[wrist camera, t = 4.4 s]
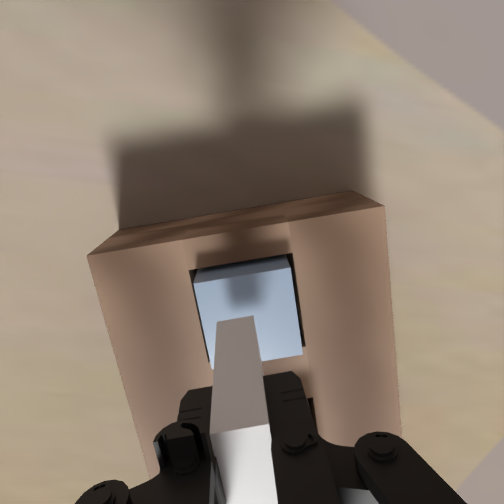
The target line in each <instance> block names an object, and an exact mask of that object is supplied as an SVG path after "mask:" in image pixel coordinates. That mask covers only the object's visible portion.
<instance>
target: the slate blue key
mask: <svg viewBox="0 0 504 504" xmlns="http://www.w3.org/2000/svg"><path fill="white" fill-rule="evenodd" d="M193 284H194V289H195V294H196V298H197V303H198V307H199V312H200V317H201V321H202V326H203V331H204V335H205V340H206V345H207V349H208V354H209V359H210V363H211V368H212V369H214V356H215V340H216V324H217V322H218V321H224V320H229V319H235V318H241V317H247V316H252V315H253V316H254V321H255V327H256V333H257V338H258V344H259V350H260V355H261V361H267V360H273V359H279V358H285V357H291V356H297V355H303V351H302V344H301V337H300V330H299V323H298V316H297V309H296V302H295V295H294V288H293V281H292V274H291V268H290V265H289V263H288V260H287V258H286V255H285V254H282V255H276V256H270V257H264V258H258V259H252V260H246V261H240V262H234V263H228V264H222V265H216V266H210V267H204V268H198V270H197V273H196V277H195V280H194V283H193Z"/></svg>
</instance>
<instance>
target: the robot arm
mask: <svg viewBox="0 0 504 504" xmlns="http://www.w3.org/2000/svg"><path fill="white" fill-rule="evenodd" d="M153 445H154V449H155V452H156V456H157V460H158V463H159V467H160V472H159V474H158V475H156V476H155V477H154V478H152V479H151V480H149V481H147V482H145V483H143V484H140V485H138V486H136V487H134V488H131V489H128V486H127V485H126V484H125V483H124V482H123V481H118V480H109V481H104V482H101V483H99V484H97V485H94V486H93V487H91V488H90V489H89V490H87V491H86V492H84V493H83V495H82V496H81V497H80V498H79V499H78V500H77V501H76V503H75V504H467V503H466V502H465V501H464V500H463V499H462V498H461V497H460V496H459V495H458V494H457V493H456V492H455V491H454V490H453V489H452V488H451V487H450V486H449V485H448V484H447V483H446V482H445V481H444V480H443V479H442V478H441V477H440V476H439V475H438V474H437V473H436V472H435V471H434V470H433V469H432V468H431V467H430V466H429V465H428V464H427V463H426V462H425V460H424V459H423V458H422V457H421V456H420V455H419V454H418V453H417V452H416V451H415V450H414V449H413V448H412V447H411V446H410V445H409V444H408V443H407V442H406V441H404V440H403V439H402V438H400V437H399V436H397V435H394V434H392V433H389V432H379V431H376V432H372V433H367V434H365V435H364V436H362V437H360V438H359V439H358V441H357V442H356V443H355V447H349V446H340V445H335V444H332V443H330V442H328V441H326V440H324V439H323V438H322V437H321V436H320V435H319V434H318V433H317V431H316V428H315V425H314V422H313V418H312V415H311V412H310V408H309V405H308V402H307V399H306V395H305V392H304V389H303V385H302V382H301V379H300V378H299V377H298V376H297V375H296V374H295V373H294V372H293V371H288V372H282V373H277V374H271V375H265V376H264V373H263V367H262V361H261V355H260V350H259V344H258V338H257V333H256V327H255V321H254V316H253V315H252V316H247V317H241V318H235V319H229V320H224V321H218V322H217V324H216V340H215V356H214V371H213V386H209V387H203V388H197V389H192V390H188V391H187V393H186V394H185V395H184V397H183V398H182V399H181V401H180V407H179V414H178V417H177V422H174V423H171V424H169V425H168V426H166V427H164V428H163V429H162V430H161V431H160V432H159V433H158V434H157V435H156V436H155V438H154V440H153Z"/></svg>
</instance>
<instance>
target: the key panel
mask: <svg viewBox="0 0 504 504" xmlns="http://www.w3.org/2000/svg"><path fill="white" fill-rule="evenodd" d="M282 254H285V255H286V258H287V260H288V263H289V265H290V268H291V274H292V281H293V288H294V295H295V302H296V309H297V316H298V323H299V330H300V337H301V344H302V351H303V355H297V356H291V357H285V358H279V359H273V360H267V361H262V367H263V373H264V376H265V375H271V374H277V373H282V372H288V371H293V372H294V373H295V374H296V375H297V376H298V377H299V378H300V379H301V382H302V385H303V389H304V392H305V395H306V398H307V401H308V404H309V408H310V412H311V415H312V418H313V422H314V425H315V428H316V431H317V433H318V434H319V435H320V436H321V437H322V438H323V439H324V440H326V441H328V442H330V443H332V444H335V445H340V446H349V447H355V443H356V442H357V441H358V439H359V438H360V437H362V436H364V435H365V434H367V433H372V432H376V431H379V432H389V433H392V434H394V435H397V436H399V437H400V438H402V432H401V419H400V405H399V392H398V379H397V365H396V352H395V339H394V325H393V312H392V299H391V285H390V272H389V259H388V245H387V232H386V219H385V206H384V205H382V204H379V203H377V202H375V201H373V200H371V199H369V198H367V197H364V196H362V195H360V194H358V193H356V192H354V191H348V192H342V193H336V194H330V195H324V196H318V197H312V198H306V199H300V200H294V201H288V202H282V203H277V204H271V205H265V206H259V207H253V208H247V209H241V210H235V211H229V212H223V213H217V214H211V215H205V216H199V217H193V218H187V219H181V220H175V221H169V222H163V223H157V224H151V225H145V226H140V227H134V228H128V229H122V230H118V231H117V232H116V233H114V234H113V235H112V236H111V237H109V238H108V239H107V240H106V241H104V242H103V243H102V244H101V245H99V246H98V247H97V248H96V249H94V250H93V251H92V252H91V253H89V254H88V255H87V259H88V263H89V266H90V270H91V273H92V277H93V280H94V284H95V287H96V291H97V294H98V298H99V301H100V305H101V308H102V312H103V315H104V319H105V322H106V326H107V329H108V333H109V336H110V340H111V343H112V347H113V351H114V354H115V358H116V361H117V365H118V368H119V372H120V375H121V379H122V382H123V386H124V389H125V393H126V396H127V400H128V403H129V407H130V410H131V414H132V417H133V421H134V424H135V428H136V431H137V435H138V438H139V442H140V445H141V449H142V452H143V456H144V459H145V463H146V466H147V470H148V473H149V477H150V480H151V479H152V478H154V477H155V476H156V475H158V474H159V472H160V467H159V463H158V460H157V456H156V452H155V449H154V445H153V440H154V438H155V436H156V435H157V434H158V433H159V432H160V431H161V430H162V429H163V428H164V427H166V426H168V425H169V424H171V423H174V422H177V417H178V414H179V407H180V401H181V399H182V398H183V397H184V395H185V394H186V393H187V391H188V390H192V389H197V388H203V387H209V386H213V371H214V369H212V368H211V363H210V359H209V354H208V349H207V345H206V340H205V335H204V331H203V326H202V321H201V317H200V312H199V307H198V303H197V298H196V294H195V289H194V284H193V283H194V280H195V277H196V273H197V270H198V268H204V267H210V266H216V265H222V264H228V263H234V262H240V261H246V260H252V259H258V258H264V257H270V256H276V255H282Z"/></svg>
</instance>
